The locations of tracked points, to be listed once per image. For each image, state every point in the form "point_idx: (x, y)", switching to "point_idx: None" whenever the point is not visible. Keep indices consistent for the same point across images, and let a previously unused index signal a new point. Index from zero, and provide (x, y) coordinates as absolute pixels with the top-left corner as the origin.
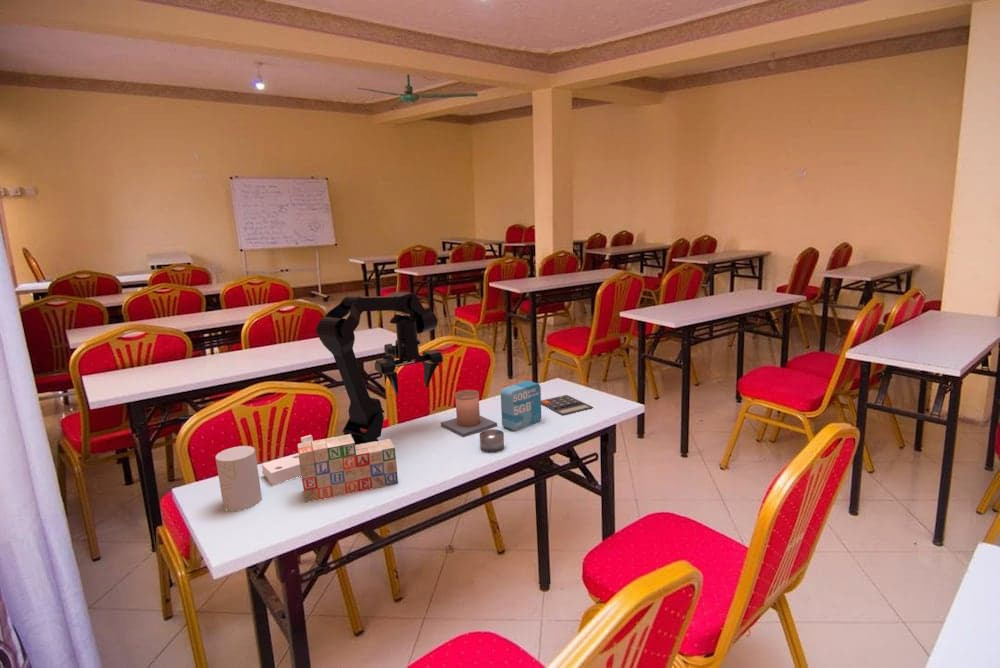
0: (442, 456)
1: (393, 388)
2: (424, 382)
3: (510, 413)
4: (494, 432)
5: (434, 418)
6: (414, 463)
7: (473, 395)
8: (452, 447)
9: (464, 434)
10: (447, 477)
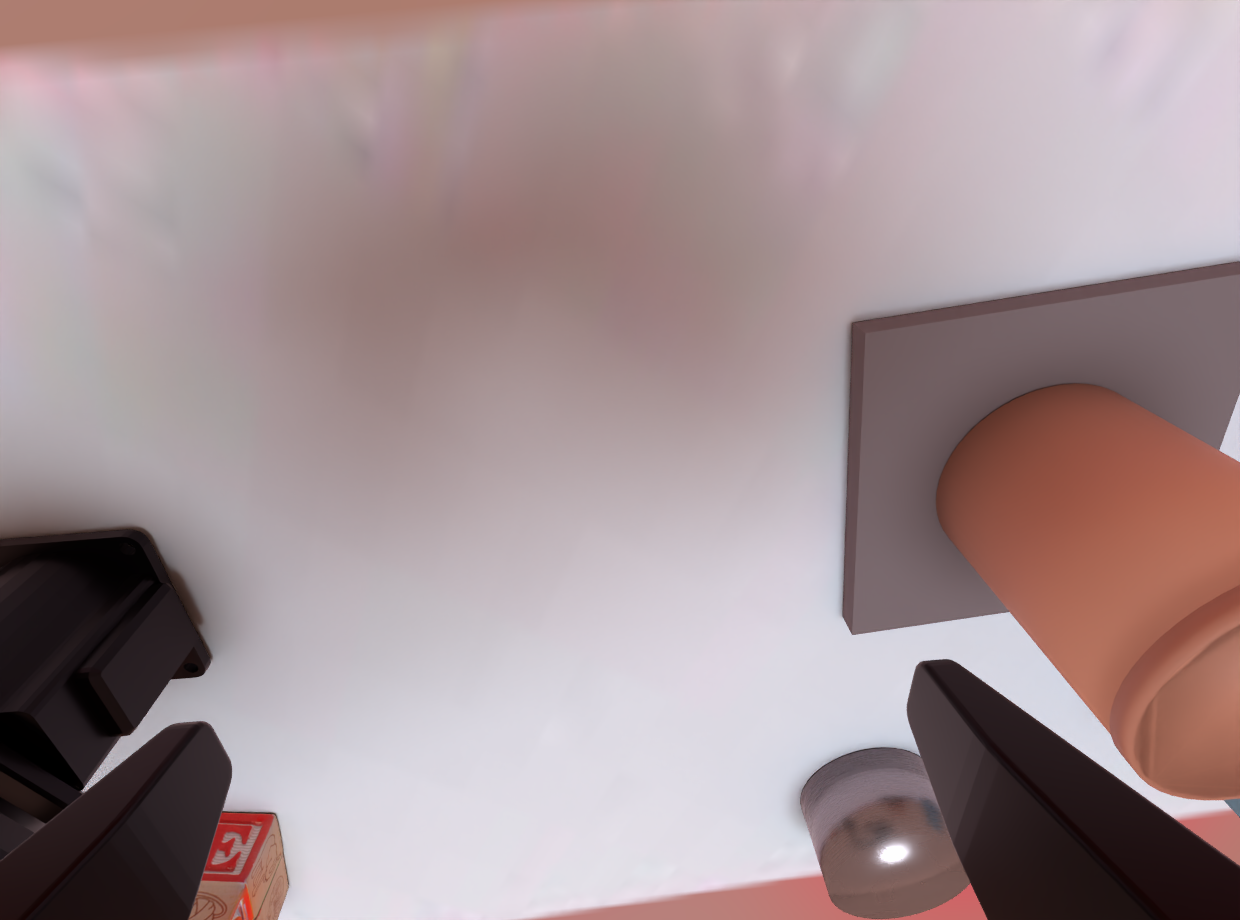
0: (588, 766)
1: (51, 852)
2: (972, 737)
3: (1229, 801)
4: (930, 873)
5: (940, 51)
6: (414, 772)
7: None
8: (695, 704)
9: (860, 626)
10: (519, 912)
